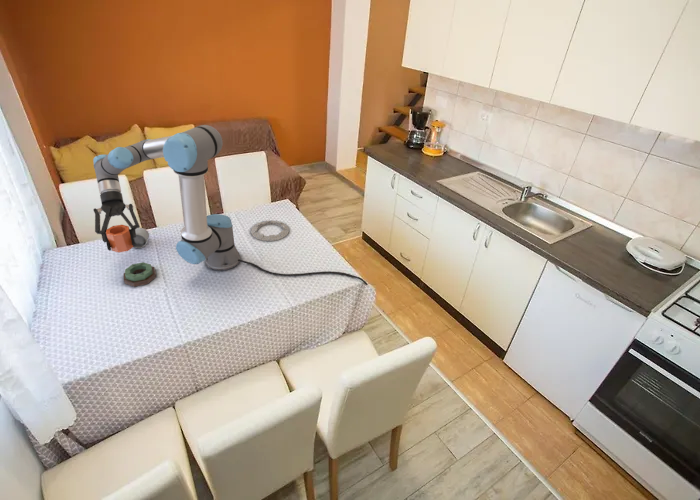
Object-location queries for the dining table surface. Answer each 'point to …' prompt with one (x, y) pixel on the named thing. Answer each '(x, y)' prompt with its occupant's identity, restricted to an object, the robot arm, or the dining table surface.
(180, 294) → the dining table surface
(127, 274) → the sage ring
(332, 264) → the dining table surface
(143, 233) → the grey flanged cylinder
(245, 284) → the dining table surface
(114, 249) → the orange hollow faceted cylinder
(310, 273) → the robot arm
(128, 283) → the walnut ring
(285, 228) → the ring
